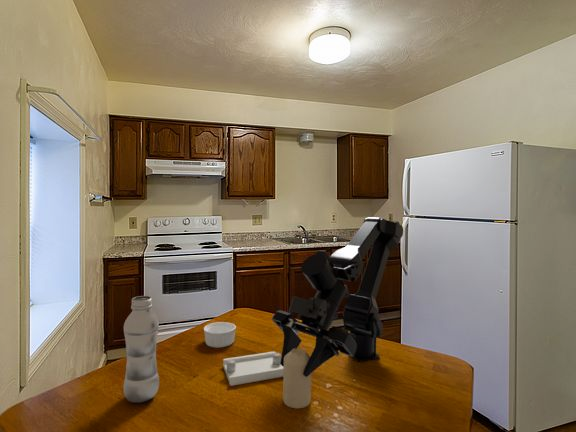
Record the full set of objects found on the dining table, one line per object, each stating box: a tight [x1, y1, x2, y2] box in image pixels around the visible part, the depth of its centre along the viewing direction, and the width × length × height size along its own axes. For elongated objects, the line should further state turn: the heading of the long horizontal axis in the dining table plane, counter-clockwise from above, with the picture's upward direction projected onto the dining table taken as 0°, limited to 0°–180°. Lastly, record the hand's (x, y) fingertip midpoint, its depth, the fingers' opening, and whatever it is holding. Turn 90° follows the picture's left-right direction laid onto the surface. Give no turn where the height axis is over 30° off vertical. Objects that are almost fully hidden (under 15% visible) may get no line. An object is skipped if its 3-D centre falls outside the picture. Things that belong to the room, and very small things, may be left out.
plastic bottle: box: [122, 295, 160, 404], centre depth 65 cm, size 6×7×20 cm
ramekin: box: [203, 321, 237, 349], centre depth 93 cm, size 9×9×4 cm
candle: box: [282, 348, 312, 410], centre depth 65 cm, size 6×6×10 cm
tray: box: [222, 350, 284, 387], centre depth 77 cm, size 13×9×3 cm
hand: (292, 370), depth 64 cm, fingers closed on candle, 5 cm apart
